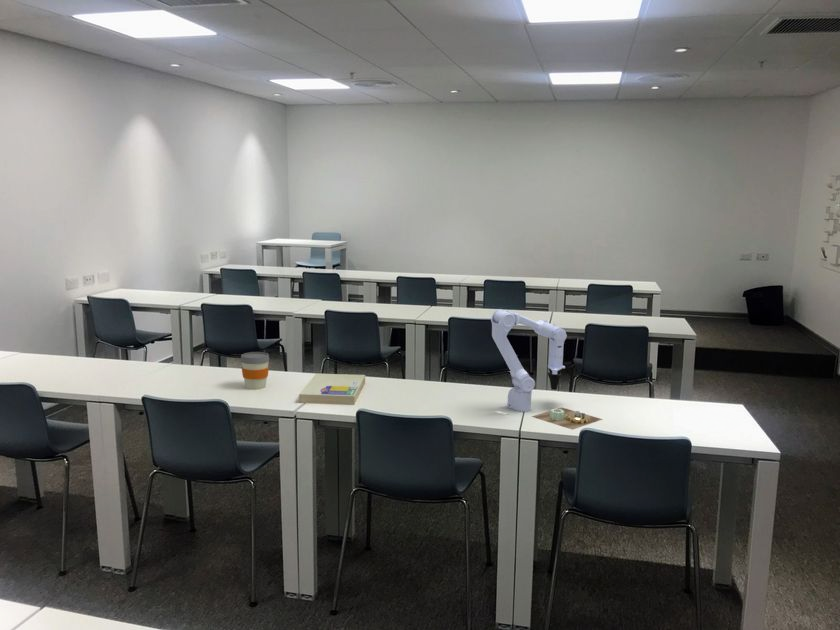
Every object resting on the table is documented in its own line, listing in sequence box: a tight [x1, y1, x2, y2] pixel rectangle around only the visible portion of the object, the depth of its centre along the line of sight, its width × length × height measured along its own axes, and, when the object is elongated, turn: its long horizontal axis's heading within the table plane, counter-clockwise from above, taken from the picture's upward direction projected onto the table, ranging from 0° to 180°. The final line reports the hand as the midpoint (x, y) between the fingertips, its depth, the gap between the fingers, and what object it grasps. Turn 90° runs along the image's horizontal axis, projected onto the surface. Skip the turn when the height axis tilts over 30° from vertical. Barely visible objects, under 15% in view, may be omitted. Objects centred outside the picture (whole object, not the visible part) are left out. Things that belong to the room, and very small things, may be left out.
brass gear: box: [566, 412, 589, 424], centre depth 268 cm, size 9×9×4 cm
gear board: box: [531, 407, 603, 430], centre depth 271 cm, size 20×20×5 cm
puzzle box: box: [298, 373, 366, 406], centre depth 304 cm, size 36×5×24 cm
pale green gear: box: [549, 408, 565, 421], centre depth 269 cm, size 6×6×3 cm
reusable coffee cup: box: [240, 351, 270, 391], centre depth 309 cm, size 13×13×15 cm
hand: (554, 387), depth 284 cm, fingers open, 7 cm apart
